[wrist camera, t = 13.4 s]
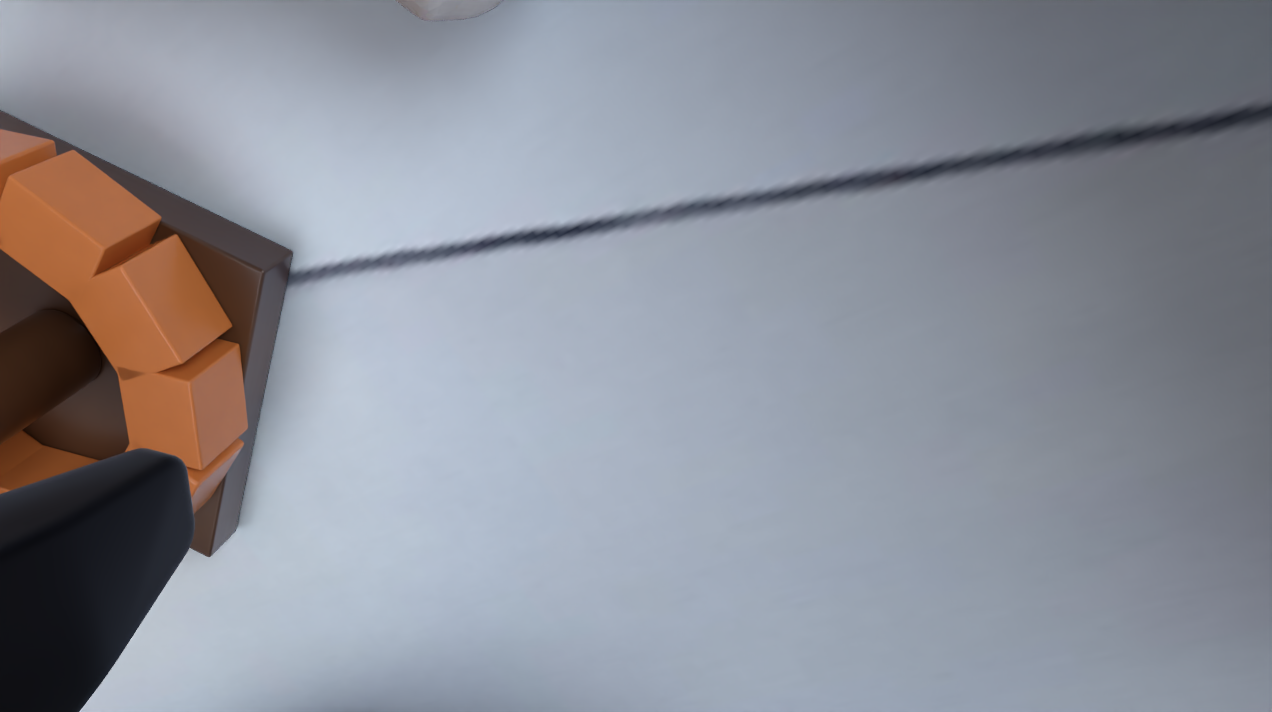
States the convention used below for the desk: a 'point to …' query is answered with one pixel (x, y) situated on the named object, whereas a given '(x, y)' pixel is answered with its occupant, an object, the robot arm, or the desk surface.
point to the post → (83, 376)
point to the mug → (448, 8)
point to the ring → (123, 313)
